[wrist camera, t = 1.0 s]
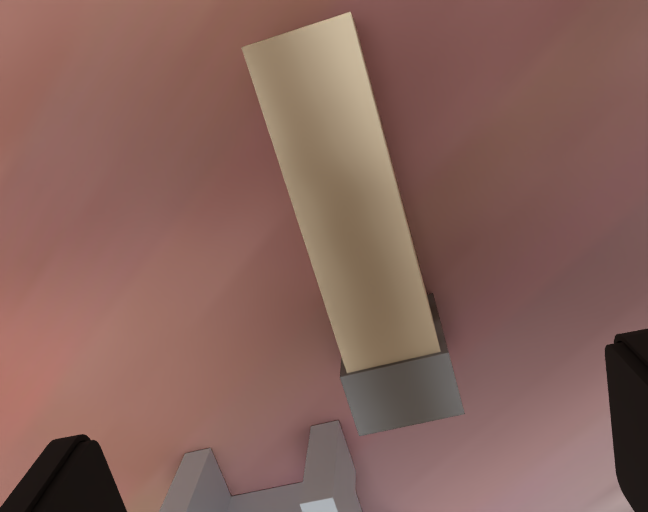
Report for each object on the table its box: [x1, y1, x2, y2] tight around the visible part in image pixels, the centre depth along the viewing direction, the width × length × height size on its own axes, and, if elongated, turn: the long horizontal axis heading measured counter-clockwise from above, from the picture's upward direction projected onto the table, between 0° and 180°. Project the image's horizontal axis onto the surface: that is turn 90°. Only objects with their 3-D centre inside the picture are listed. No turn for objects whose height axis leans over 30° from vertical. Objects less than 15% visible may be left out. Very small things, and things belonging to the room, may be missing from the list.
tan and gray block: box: [241, 12, 465, 436], centre depth 26 cm, size 5×16×6 cm, turn 17°
